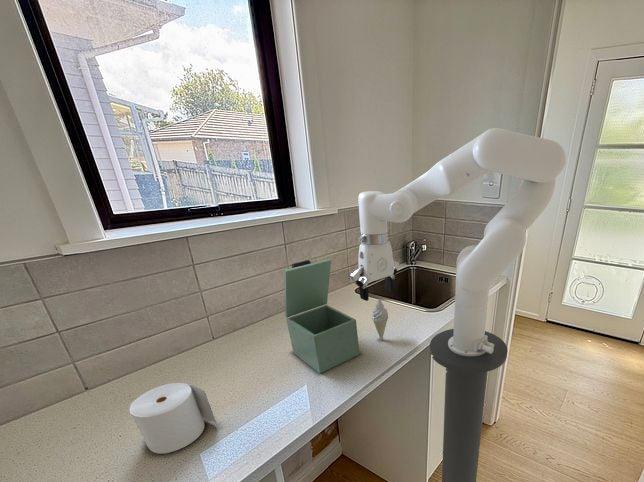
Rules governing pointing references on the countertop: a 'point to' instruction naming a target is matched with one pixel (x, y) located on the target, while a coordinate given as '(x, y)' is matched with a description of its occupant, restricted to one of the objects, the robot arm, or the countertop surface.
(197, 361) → the countertop surface
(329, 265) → the bin lid
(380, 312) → the ice cream cone
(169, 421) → the toilet tissue
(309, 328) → the bin
